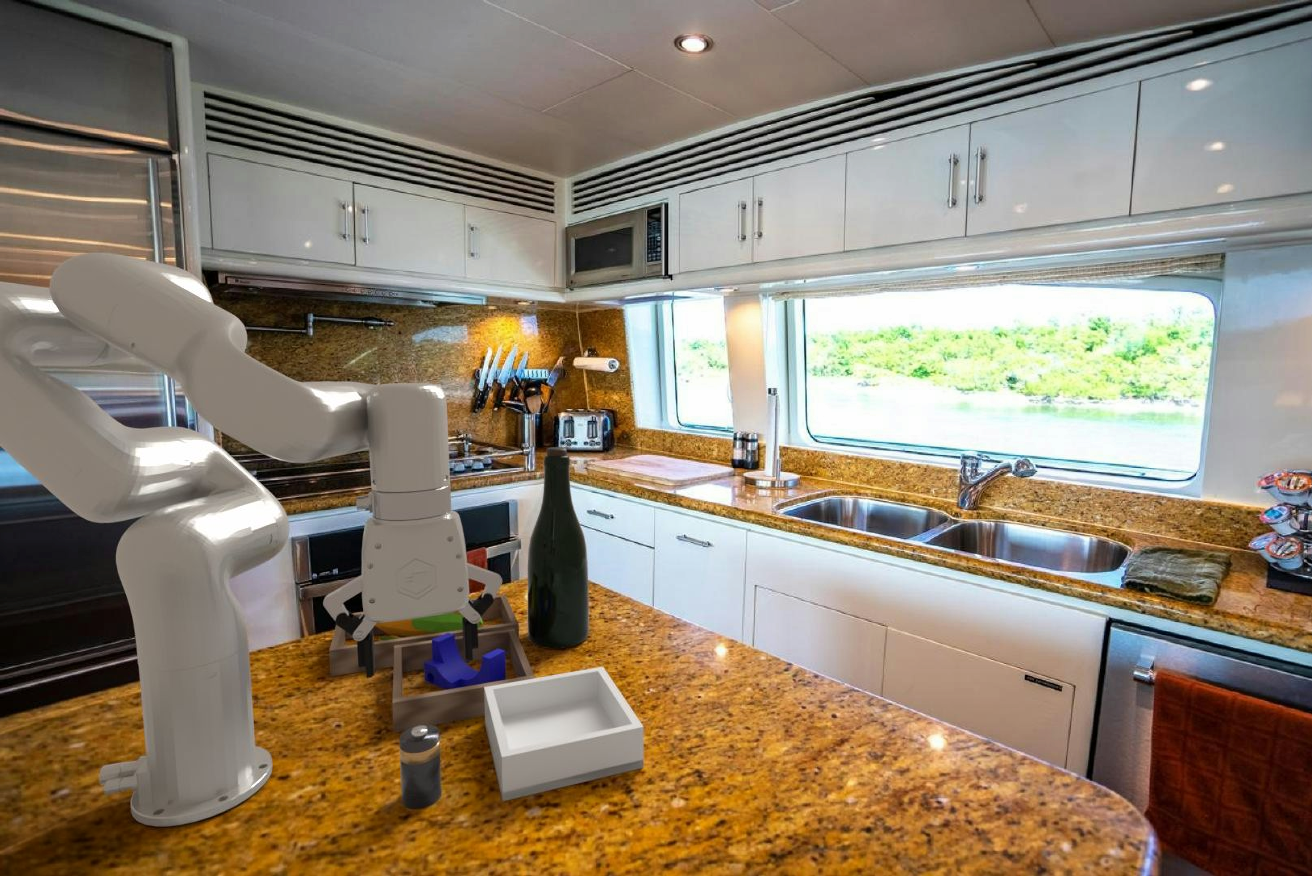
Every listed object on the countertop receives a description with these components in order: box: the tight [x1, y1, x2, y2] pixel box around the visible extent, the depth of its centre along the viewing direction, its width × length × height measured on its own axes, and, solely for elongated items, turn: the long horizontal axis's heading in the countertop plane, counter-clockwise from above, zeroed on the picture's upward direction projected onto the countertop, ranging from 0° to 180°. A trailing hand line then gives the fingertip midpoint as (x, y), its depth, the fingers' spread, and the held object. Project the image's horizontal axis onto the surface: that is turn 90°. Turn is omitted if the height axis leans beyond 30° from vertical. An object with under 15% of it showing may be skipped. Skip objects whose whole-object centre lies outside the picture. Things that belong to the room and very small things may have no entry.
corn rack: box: [328, 594, 520, 677], centre depth 107 cm, size 28×15×4 cm, turn 112°
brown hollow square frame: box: [392, 629, 536, 734], centre depth 91 cm, size 18×18×4 cm
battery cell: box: [398, 725, 442, 810], centre depth 68 cm, size 4×4×8 cm
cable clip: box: [423, 633, 507, 690], centre depth 92 cm, size 12×4×6 cm, turn 59°
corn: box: [375, 611, 484, 641], centre depth 106 cm, size 7×8×20 cm
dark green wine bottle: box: [526, 446, 590, 650], centre depth 107 cm, size 10×10×33 cm
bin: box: [484, 666, 645, 802], centre depth 77 cm, size 16×16×5 cm
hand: (420, 663), depth 67 cm, fingers open, 9 cm apart
